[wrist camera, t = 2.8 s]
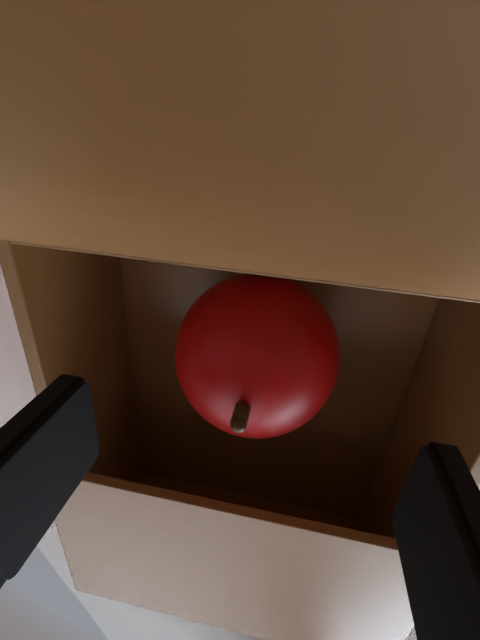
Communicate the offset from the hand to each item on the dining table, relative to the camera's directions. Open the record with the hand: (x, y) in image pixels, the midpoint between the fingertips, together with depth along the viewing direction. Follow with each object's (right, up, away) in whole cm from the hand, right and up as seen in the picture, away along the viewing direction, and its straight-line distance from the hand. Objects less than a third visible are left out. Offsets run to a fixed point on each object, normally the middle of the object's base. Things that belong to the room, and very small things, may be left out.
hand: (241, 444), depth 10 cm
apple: (+1, +4, +6) cm, 7 cm away
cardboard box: (+1, 0, +9) cm, 9 cm away
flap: (0, +5, -6) cm, 8 cm away
